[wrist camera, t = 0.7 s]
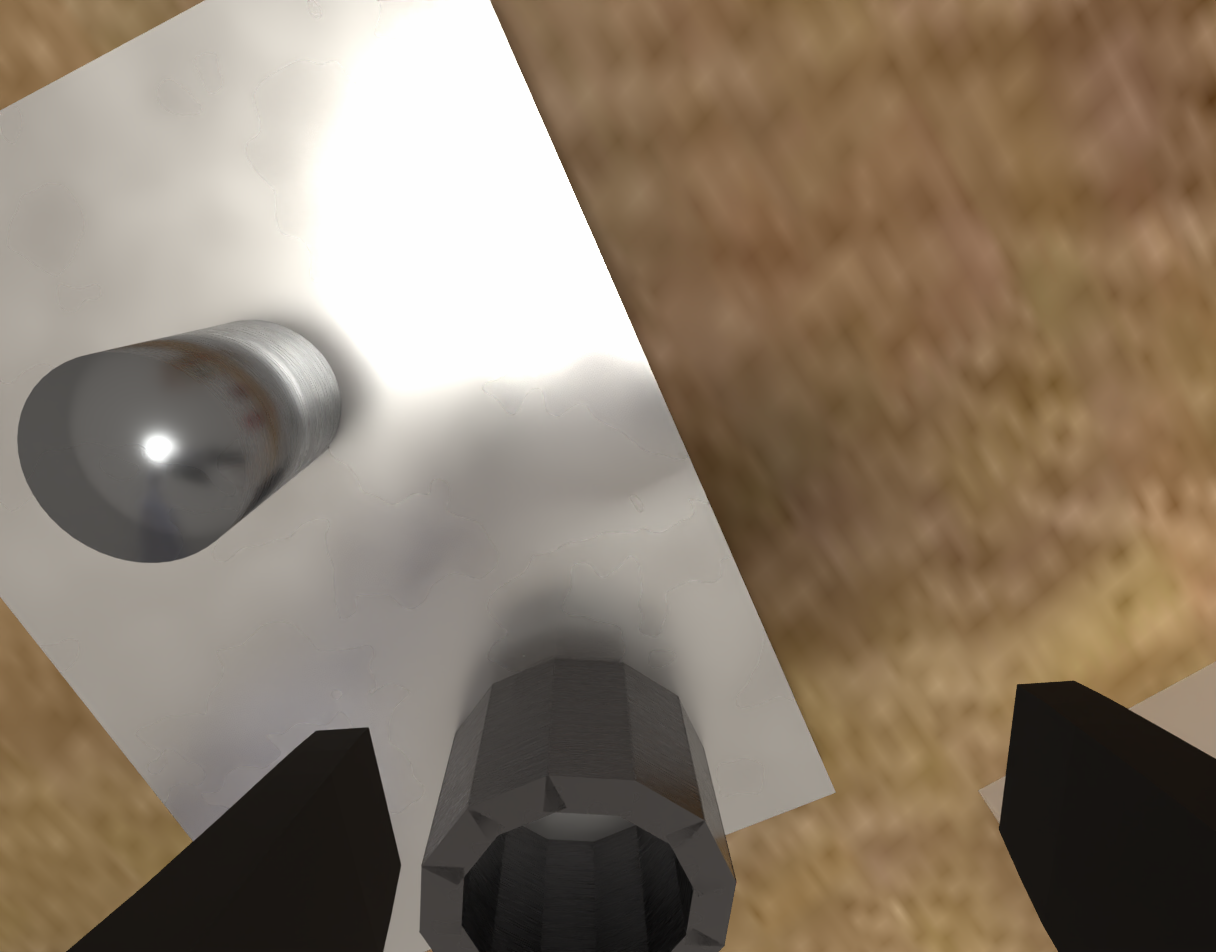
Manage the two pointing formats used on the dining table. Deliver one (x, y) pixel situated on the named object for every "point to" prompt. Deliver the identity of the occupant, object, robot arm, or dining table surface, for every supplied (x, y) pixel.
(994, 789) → the milk
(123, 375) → the post stand
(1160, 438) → the dining table surface
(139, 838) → the dining table surface
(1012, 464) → the dining table surface
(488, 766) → the iron ring
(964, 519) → the dining table surface
